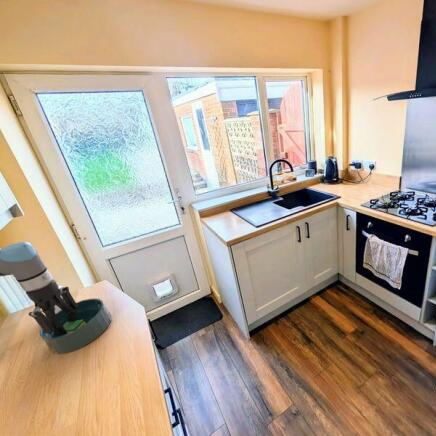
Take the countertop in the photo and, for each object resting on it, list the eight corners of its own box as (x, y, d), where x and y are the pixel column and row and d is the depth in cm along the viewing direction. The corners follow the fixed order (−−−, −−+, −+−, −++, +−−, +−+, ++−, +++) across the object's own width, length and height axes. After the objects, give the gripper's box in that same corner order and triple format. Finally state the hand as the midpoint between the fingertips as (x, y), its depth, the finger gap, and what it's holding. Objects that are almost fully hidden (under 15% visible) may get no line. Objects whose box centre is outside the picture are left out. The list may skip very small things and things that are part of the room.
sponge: (62, 339, 92) (56, 331, 90) (72, 329, 96) (66, 322, 94) (79, 336, 91) (73, 329, 89) (88, 326, 95) (83, 319, 93)
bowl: (36, 356, 88) (23, 341, 85) (78, 314, 106) (69, 300, 102) (88, 352, 87) (78, 336, 84) (121, 310, 105) (114, 296, 102)
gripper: (25, 302, 75) (62, 353, 85) (70, 268, 91) (97, 314, 101) (1, 304, 76) (41, 355, 86) (51, 270, 92) (80, 316, 101)
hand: (72, 333), depth 93 cm, fingers closed on sponge, 4 cm apart
